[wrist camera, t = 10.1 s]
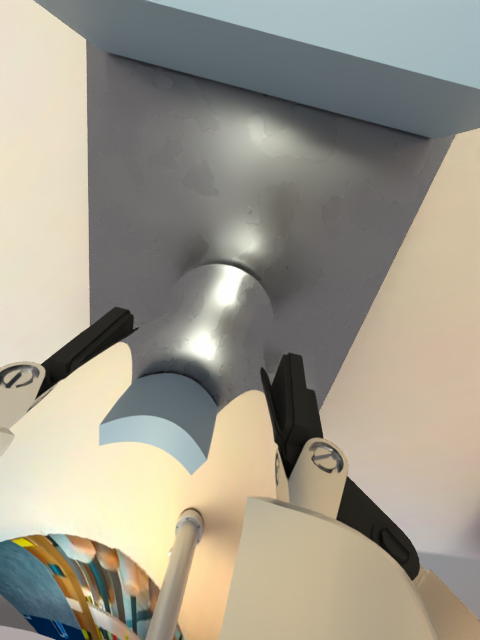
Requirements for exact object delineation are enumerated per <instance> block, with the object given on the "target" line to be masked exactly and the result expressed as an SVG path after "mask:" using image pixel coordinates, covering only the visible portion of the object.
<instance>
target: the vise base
mask: <svg viewBox="0 0 480 640" xmlns="http://www.w3.org/2000/svg"><path fill="white" fill-rule="evenodd" d="M86 49H87V125H88V202H89V279H90V326H91V325H92V324H94V323H95V322H96V321H98V320H99V319H100V318H101V317H103V316H104V315H105V314H106V313H108V312H109V311H110V310H112V309H113V308H114V307H120V308H124V309H127V310H130V313H131V314H133V315H134V324H133V329H135V328H137V327H138V326H140V325H142V324H143V323H145V322H147V321H148V320H150V319H151V318H153V317H154V316H156V315H157V314H159V313H160V312H161V311H162V309H163V308H164V305H165V303H166V300H167V297H168V295H169V293H170V291H171V289H172V287H173V286H174V284H175V283H176V282H177V281H178V279H179V278H180V277H181V276H183V275H184V274H185V273H187V272H188V271H190V270H192V269H194V268H196V267H199V266H203V265H208V264H225V265H230V266H234V267H237V268H239V269H241V270H244V271H245V272H247V273H249V274H250V275H252V276H253V277H254V278H255V279H256V280H257V281H258V282H259V283H260V284H261V285H262V286H263V287H264V289H265V290H266V292H267V294H268V296H269V298H270V300H271V303H272V307H273V314H274V319H273V327H272V331H271V334H270V337H269V340H268V342H267V344H266V347H265V349H264V358H265V363H266V367H267V371H268V375H269V379H270V383H271V385H272V383H273V380H274V377H275V374H276V372H277V369H278V366H279V364H280V361H281V358H282V356H283V354H285V355H287V354H288V353H289V352H290V353H294V354H298V355H302V358H303V365H304V372H305V379H306V386H307V388H308V389H312V390H314V391H315V394H316V399H317V405H318V410H320V408H321V406H322V404H323V402H324V400H325V398H326V396H327V394H328V392H329V390H330V388H331V386H332V384H333V382H334V380H335V378H336V376H337V374H338V372H339V370H340V368H341V366H342V364H343V362H344V360H345V358H346V356H347V354H348V352H349V350H350V348H351V346H352V344H353V341H354V339H355V337H356V335H357V333H358V331H359V329H360V327H361V325H362V323H363V321H364V319H365V317H366V315H367V313H368V311H369V309H370V307H371V305H372V303H373V301H374V299H375V297H376V295H377V293H378V291H379V289H380V287H381V285H382V283H383V281H384V279H385V277H386V275H387V273H388V271H389V269H390V266H391V264H392V262H393V260H394V258H395V256H396V254H397V252H398V250H399V248H400V246H401V244H402V242H403V240H404V238H405V236H406V234H407V232H408V230H409V228H410V226H411V224H412V222H413V220H414V218H415V216H416V214H417V212H418V210H419V208H420V206H421V204H422V202H423V200H424V198H425V196H426V194H427V191H428V189H429V187H430V185H431V183H432V181H433V179H434V177H435V175H436V173H437V171H438V169H439V167H440V165H441V163H442V161H443V159H444V157H445V155H446V153H447V151H448V149H449V147H450V145H451V143H452V141H453V139H454V137H455V135H456V134H454V135H450V136H447V137H443V138H439V139H433V138H429V137H425V136H422V135H418V134H414V133H410V132H407V131H403V130H399V129H395V128H391V127H388V126H384V125H380V124H376V123H373V122H369V121H365V120H361V119H358V118H354V117H350V116H346V115H342V114H339V113H335V112H331V111H327V110H324V109H320V108H316V107H312V106H309V105H305V104H301V103H297V102H293V101H290V100H286V99H282V98H278V97H275V96H271V95H267V94H263V93H260V92H256V91H252V90H248V89H244V88H241V87H237V86H233V85H229V84H226V83H222V82H218V81H214V80H210V79H207V78H203V77H199V76H195V75H192V74H188V73H184V72H180V71H177V70H173V69H169V68H165V67H161V66H158V65H154V64H150V63H146V62H143V61H139V60H135V59H131V58H128V57H124V56H120V55H116V54H112V53H109V52H105V51H101V50H100V49H98V48H97V47H96V46H94V45H93V44H92V43H90V42H89V41H88V40H86Z"/></svg>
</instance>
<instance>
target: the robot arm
mask: <svg viewBox="0 0 480 640" xmlns="http://www.w3.org/2000/svg"><path fill="white" fill-rule="evenodd" d="M133 324H134V315H133V314H131V313H130V310H127V309H124V308H120V307H114V308H113V309H112V310H110V311H109V312H108V313H106V314H105V315H104V316H103V317H101V318H100V319H99V320H98V321H96V322H95V323H94V324H92V325H91V326H90V327H89V328H87V329H86V330H85V331H83V332H82V333H80V334H79V335H78V336H76V337H75V338H74V339H73V340H71V341H70V342H69V343H67V344H66V345H65V346H64V347H62V348H61V349H60V350H59V351H57V352H56V353H55V354H53V355H52V356H51V357H50V358H48V359H47V360H46V361H45V362H43V363H42V364H41V365H40V364H37V363H34V362H16V363H12V364H8V365H5V366H3V367H0V452H1V451H2V450H3V449H4V447H5V446H6V445H7V444H8V443H9V442H10V441H11V440H12V439H13V438H14V436H15V435H14V434H13V433H12V432H11V431H10V430H9V429H8V428H4V427H5V426H6V425H7V424H8V423H9V422H10V421H12V420H13V419H14V418H15V417H16V416H17V415H18V414H20V413H21V412H22V411H23V410H24V409H25V408H27V407H28V406H29V405H30V404H31V403H32V402H34V401H35V400H36V399H37V398H38V397H39V396H40V395H42V394H43V393H44V392H45V391H46V390H47V389H49V388H50V387H51V386H52V385H53V384H54V383H56V382H57V381H58V380H59V379H60V378H62V377H63V376H64V375H66V374H67V373H69V372H70V371H72V370H73V369H74V368H76V367H77V366H79V365H80V364H81V363H83V362H84V361H86V360H87V359H88V358H90V357H91V356H93V355H94V354H95V353H97V352H98V351H100V350H101V349H103V348H104V347H106V346H108V345H109V344H111V343H112V342H114V341H116V340H117V339H119V338H120V337H122V336H124V335H125V334H127V333H128V332H130V331H132V330H133ZM271 387H272V391H273V395H274V399H275V404H276V408H277V412H278V416H279V421H280V427H281V433H282V439H283V444H284V450H285V456H286V462H287V472H288V489H289V502H290V503H288V502H284V501H281V500H277V499H274V498H270V497H248V498H247V504H246V510H245V516H244V523H243V530H242V534H241V539H240V543H239V548H238V553H237V557H236V562H235V566H234V571H233V575H232V580H231V584H230V589H229V594H228V599H227V604H226V609H225V614H224V618H223V623H222V627H221V631H220V635H219V639H218V640H480V620H479V619H477V617H476V616H475V615H474V614H473V613H472V612H471V611H470V610H469V609H468V608H467V607H466V606H465V605H464V604H463V603H462V602H461V601H460V600H459V599H458V597H457V596H456V595H455V594H454V593H453V592H452V591H451V590H450V589H449V588H448V587H447V586H446V585H445V584H444V583H443V582H442V581H441V580H440V579H439V578H438V577H437V576H436V575H435V573H433V571H432V570H428V571H426V570H425V569H424V568H423V567H422V566H421V565H420V564H419V558H418V555H417V552H416V550H415V548H414V546H413V544H412V543H411V541H410V539H409V538H408V537H407V536H406V535H405V534H404V532H403V531H402V530H401V529H400V528H399V527H398V526H397V525H396V524H395V523H394V522H393V521H392V520H391V519H390V518H389V517H388V516H387V515H386V514H385V513H384V512H383V511H382V510H381V509H380V508H379V507H378V506H377V505H376V504H375V503H374V502H373V501H372V500H371V499H370V498H369V497H368V496H367V495H366V494H365V493H364V492H363V491H362V490H361V489H360V488H359V487H358V486H357V485H356V484H355V483H354V482H353V481H352V480H351V479H350V478H349V477H348V476H347V473H348V462H347V458H346V457H345V455H344V453H343V452H342V451H341V450H340V449H339V448H338V447H337V446H336V445H335V444H333V443H332V442H330V441H328V440H326V439H324V438H323V433H322V427H321V422H320V416H319V410H318V405H317V399H316V394H315V391H314V390H312V389H308V388H307V386H306V379H305V372H304V365H303V358H302V355H298V354H294V353H290V352H289V353H288V354H287V355H285V354H283V356H282V358H281V361H280V364H279V366H278V369H277V372H276V374H275V377H274V380H273V383H272V385H271Z"/></svg>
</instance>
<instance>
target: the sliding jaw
mask: <svg viewBox="0 0 480 640" xmlns="http://www.w3.org/2000/svg"><path fill="white" fill-rule="evenodd" d="M34 1H35V2H37V3H38V4H39V5H41V6H42V7H43V8H45V9H46V10H47V11H49V12H50V13H51V14H53V15H54V16H55V17H57V18H58V19H59V20H61V21H62V22H63V23H65V24H66V25H68V26H69V27H70V28H72V29H73V30H74V31H76V32H77V33H78V34H80V35H81V36H82V37H84V38H85V39H86V40H88V41H89V42H90V43H92V44H93V45H94V46H96V47H97V48H98V49H100V50H101V51H105V52H109V53H112V54H116V55H120V56H124V57H128V58H131V59H135V60H139V61H143V62H146V63H150V64H154V65H158V66H161V67H165V68H169V69H173V70H177V71H180V72H184V73H188V74H192V75H195V76H199V77H203V78H207V79H210V80H214V81H218V82H222V83H226V84H229V85H233V86H237V87H241V88H244V89H248V90H252V91H256V92H260V93H263V94H267V95H271V96H275V97H278V98H282V99H286V100H290V101H293V102H297V103H301V104H305V105H309V106H312V107H316V108H320V109H324V110H327V111H331V112H335V113H339V114H342V115H346V116H350V117H354V118H358V119H361V120H365V121H369V122H373V123H376V124H380V125H384V126H388V127H391V128H395V129H399V130H403V131H407V132H410V133H414V134H418V135H422V136H425V137H429V138H433V139H439V138H443V137H447V136H450V135H454V134H458V133H462V132H466V131H470V130H474V129H477V128H480V0H34Z"/></svg>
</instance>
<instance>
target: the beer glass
mask: <svg viewBox="0 0 480 640" xmlns="http://www.w3.org/2000/svg"><path fill="white" fill-rule="evenodd" d="M273 319H274V314H273V307H272V303H271V300H270V298H269V296H268V294H267V292H266V290H265V289H264V287H263V286H262V285H261V284H260V283H259V282H258V281H257V280H256V279H255V278H254V277H253V276H252V275H250V274H249V273H247V272H245V271H244V270H241V269H239V268H237V267H234V266H230V265H225V264H208V265H203V266H199V267H196V268H194V269H192V270H190V271H188V272H187V273H185V274H184V275H183V276H181V277H180V278H179V279H178V281H177V282H176V283H175V284H174V286H173V287H172V289H171V291H170V293H169V295H168V297H167V300H166V303H165V305H164V308H163V309H162V311H161V312H160V313H159V314H157V315H156V316H154V317H153V318H151V319H150V320H148V321H147V322H145V323H143V324H142V325H140V326H138V327H137V328H135V329H133V330H132V331H130V332H128V333H127V334H125V335H124V336H122V337H120V338H119V339H117V340H116V341H114V342H112V343H111V344H109V345H108V346H106V347H104V348H103V349H101V350H100V351H98V352H97V353H95V354H94V355H93V356H91V357H90V358H88V359H87V360H86V361H84V362H83V363H81V364H80V365H79V366H77V367H76V368H74V369H73V370H72V371H70V372H69V373H67V374H66V375H64V376H63V377H62V378H60V379H59V380H58V381H57V382H56V383H54V384H53V385H52V386H51V387H50V388H49V389H47V390H46V391H45V392H44V393H43V394H42V395H40V396H39V397H38V398H37V399H36V400H35V401H34V402H32V403H31V404H30V405H29V406H28V407H27V408H25V409H24V410H23V411H22V412H21V413H20V414H18V415H17V416H16V417H15V418H14V419H13V420H12V421H10V422H9V423H8V424H7V425H6V426H5V427H4V428H8V429H9V430H10V431H11V432H12V433H13V434H14V435H15V436H14V438H13V439H12V440H11V441H10V442H9V443H8V444H7V445H6V446H5V447H4V449H3V450H2V451H1V452H0V640H218V639H219V635H220V631H221V627H222V623H223V618H224V614H225V609H226V604H227V599H228V594H229V589H230V584H231V580H232V575H233V571H234V566H235V562H236V557H237V553H238V548H239V543H240V539H241V534H242V530H243V523H244V516H245V510H246V504H247V498H248V497H270V498H274V499H277V500H281V501H284V502H288V503H290V502H289V489H288V472H287V462H286V456H285V450H284V444H283V439H282V433H281V427H280V421H279V416H278V412H277V408H276V404H275V399H274V395H273V391H272V387H271V383H270V379H269V375H268V371H267V367H266V363H265V358H264V349H265V347H266V344H267V342H268V340H269V337H270V334H271V331H272V327H273Z"/></svg>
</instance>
